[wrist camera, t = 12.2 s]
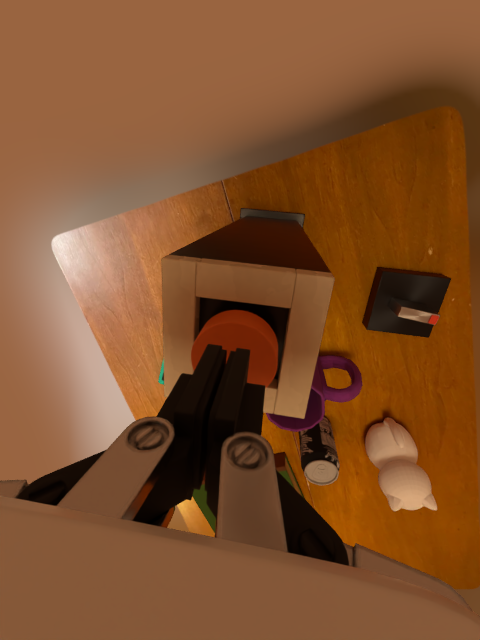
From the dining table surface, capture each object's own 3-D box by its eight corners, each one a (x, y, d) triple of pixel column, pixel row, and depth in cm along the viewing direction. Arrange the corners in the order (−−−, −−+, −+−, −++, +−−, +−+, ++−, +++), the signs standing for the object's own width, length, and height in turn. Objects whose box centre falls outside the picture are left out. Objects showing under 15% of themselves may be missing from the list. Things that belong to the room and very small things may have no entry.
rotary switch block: (377, 266, 48) (383, 271, 45) (441, 273, 47) (451, 278, 44) (362, 322, 52) (366, 329, 49) (421, 330, 51) (429, 337, 48)
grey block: (387, 306, 47) (398, 317, 43) (391, 297, 46) (402, 307, 42) (422, 314, 47) (436, 325, 43) (426, 304, 46) (441, 316, 42)
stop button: (200, 304, 14) (191, 316, 13) (283, 314, 14) (283, 328, 12) (198, 374, 16) (189, 392, 14) (272, 385, 15) (271, 404, 14)
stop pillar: (241, 207, 47) (139, 233, 13) (304, 213, 46) (364, 257, 12) (236, 269, 51) (147, 408, 17) (294, 275, 50) (319, 436, 16)
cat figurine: (363, 455, 63) (386, 527, 49) (358, 409, 59) (382, 473, 45) (409, 453, 61) (445, 526, 48) (407, 404, 57) (447, 470, 43)
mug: (265, 336, 55) (259, 382, 42) (351, 331, 53) (375, 378, 39) (269, 377, 59) (266, 432, 45) (351, 374, 56) (373, 432, 42)
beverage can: (297, 434, 63) (300, 484, 52) (299, 410, 61) (303, 457, 50) (328, 437, 63) (338, 489, 52) (332, 413, 60) (343, 461, 49)
